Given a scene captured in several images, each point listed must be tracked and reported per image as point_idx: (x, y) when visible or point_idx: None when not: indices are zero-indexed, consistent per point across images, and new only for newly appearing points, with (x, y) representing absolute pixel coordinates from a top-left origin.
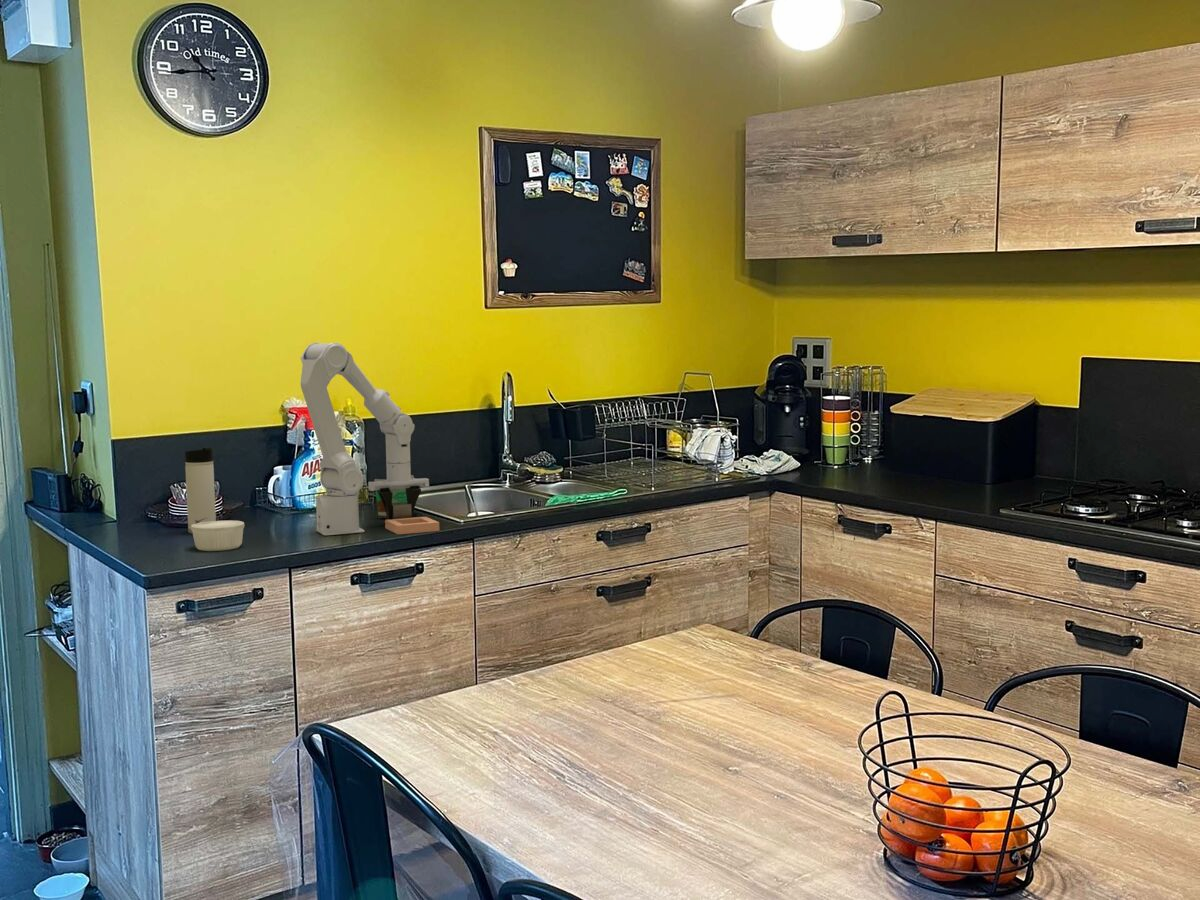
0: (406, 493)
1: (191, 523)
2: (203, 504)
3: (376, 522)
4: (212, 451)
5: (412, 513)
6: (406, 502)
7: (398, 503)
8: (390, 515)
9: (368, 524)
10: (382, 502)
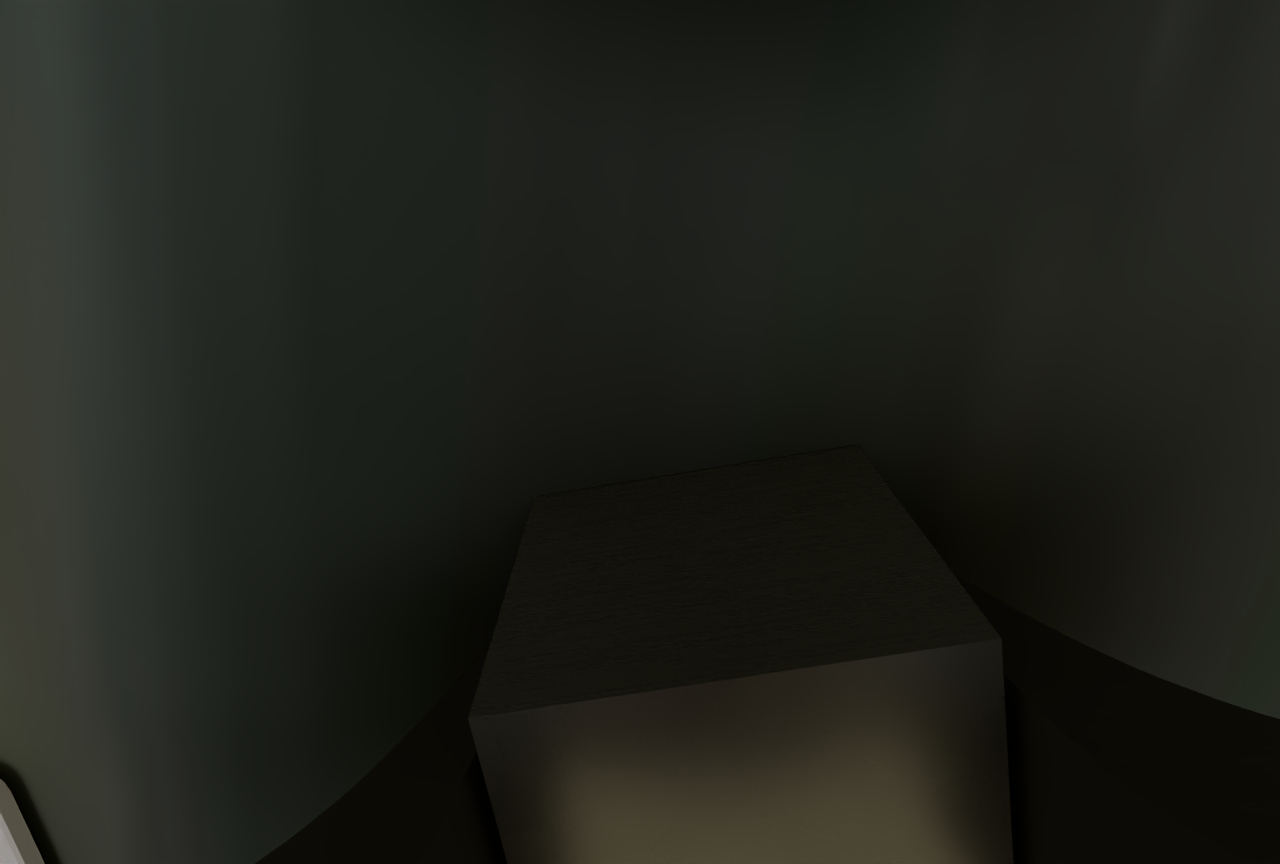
0: (1165, 862)
1: None
2: None
3: (329, 284)
4: None
5: None
6: (988, 759)
7: (744, 858)
8: None
9: (189, 462)
10: (305, 829)
